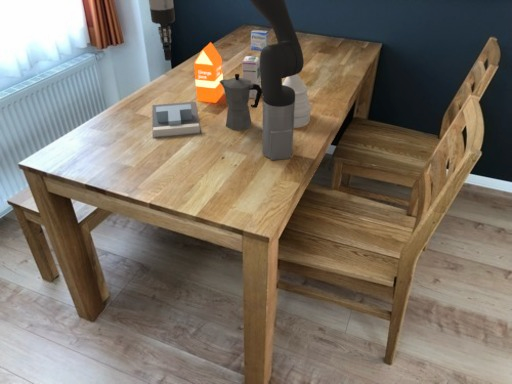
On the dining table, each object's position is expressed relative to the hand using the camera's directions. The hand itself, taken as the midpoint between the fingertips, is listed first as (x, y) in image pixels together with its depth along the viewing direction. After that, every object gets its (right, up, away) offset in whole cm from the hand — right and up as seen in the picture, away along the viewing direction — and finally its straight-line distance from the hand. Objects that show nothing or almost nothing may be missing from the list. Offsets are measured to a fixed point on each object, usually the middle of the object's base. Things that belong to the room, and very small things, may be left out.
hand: (168, 59), depth 149 cm
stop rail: (+4, -26, -4) cm, 26 cm away
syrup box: (+28, -8, +21) cm, 36 cm away
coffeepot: (+25, -22, +1) cm, 34 cm away
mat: (+2, -20, +5) cm, 20 cm away
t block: (+2, -22, +2) cm, 22 cm away
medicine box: (+32, +25, +66) cm, 78 cm away
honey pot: (+42, -20, +4) cm, 47 cm away
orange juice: (+12, -9, +20) cm, 25 cm away
